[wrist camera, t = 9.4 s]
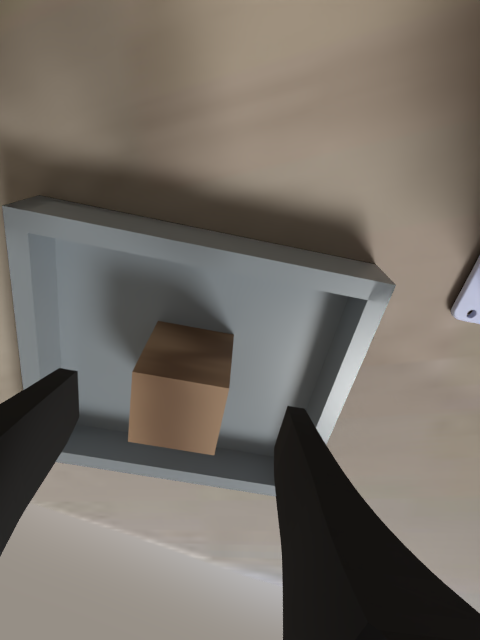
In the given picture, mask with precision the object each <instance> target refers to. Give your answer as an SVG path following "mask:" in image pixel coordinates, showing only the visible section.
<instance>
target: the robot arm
mask: <svg viewBox="0 0 480 640" xmlns="http://www.w3.org/2000/svg"><path fill="white" fill-rule="evenodd" d="M470 310H473V311H472V313H471V314H469V315H467V313H468V312H469V311H470ZM451 314H452V316H453V317H455V318H456V319H458V320H462V321H467V322H472V323H478V324H480V256H479V258H478V260H477V262H476V263H475V265H474V267H473V269H472V271H471V273H470V275H469V277H468V278H467V280H466V282H465V284H464V286H463V288H462V290H461V292H460V293H459V295H458V297H457V299H456V301H455V303H454V305H453V307H452V309H451ZM79 417H80V416H79V391H78V371H75V370H69V369H63V368H58V369H57V370H55V371H53V372H52V373H50V374H48V375H47V376H45V377H44V378H42V379H40V380H39V381H37V382H36V383H34V384H33V385H31V386H29V387H28V388H26V389H24V390H23V391H21V392H20V393H18V394H16V395H15V396H13V397H11V398H10V399H8V400H6V401H5V402H3V403H1V404H0V556H1V554H2V552H3V550H4V548H5V546H6V544H7V542H8V540H9V538H10V536H11V534H12V532H13V531H14V528H15V527H16V525H17V523H18V521H19V519H20V517H21V516H22V514H23V512H24V510H25V509H26V507H27V506H28V504H29V503H30V501H31V499H32V498H33V496H34V495H35V493H36V492H37V490H38V488H39V487H40V485H41V484H42V482H43V481H44V479H45V478H46V476H47V474H48V473H49V471H50V470H51V468H52V467H53V465H54V463H55V462H56V460H57V459H58V457H59V455H60V454H61V452H62V451H63V449H64V447H65V446H66V444H67V442H68V440H69V438H70V436H71V434H72V432H73V430H74V428H75V425H76V423H77V421H78V419H79ZM274 482H275V492H276V501H277V510H278V519H279V528H280V537H281V548H282V571H283V640H480V613H478V612H477V611H476V610H475V609H474V608H472V607H471V606H470V605H469V604H468V603H467V602H465V601H464V600H463V599H462V598H461V597H460V596H458V595H457V594H456V593H455V592H454V591H453V590H451V589H450V588H449V587H448V586H447V585H446V584H444V583H443V582H442V581H441V580H440V579H439V578H438V577H437V576H436V575H435V574H433V573H432V572H431V571H430V570H429V569H428V568H427V567H426V566H425V565H424V564H423V563H422V562H421V561H420V560H419V559H418V558H417V557H416V556H415V555H414V554H413V553H412V552H411V551H410V550H409V549H408V548H407V547H406V546H405V545H404V544H403V543H402V542H401V541H400V540H399V539H398V538H397V537H396V536H395V535H394V534H393V533H392V532H391V531H390V529H389V528H388V527H387V526H386V525H385V524H384V523H383V522H382V521H381V520H380V518H379V517H378V516H377V515H376V514H375V513H374V511H373V510H372V509H371V508H370V506H369V505H368V504H367V503H366V502H365V500H364V499H363V498H362V497H361V495H360V494H359V493H358V492H357V490H356V489H355V488H354V486H353V485H352V483H351V482H350V481H349V479H348V478H347V476H346V475H345V474H344V472H343V471H342V469H341V468H340V466H339V465H338V463H337V462H336V460H335V458H334V457H333V455H332V454H331V452H330V451H329V449H328V447H327V446H326V444H325V442H324V441H323V439H322V437H321V436H320V434H319V432H318V431H317V429H316V427H315V425H314V424H313V422H312V420H311V418H310V416H309V415H308V413H307V411H306V410H305V409H304V408H298V407H292V406H287V409H286V412H285V415H284V418H283V421H282V424H281V427H280V431H279V434H278V437H277V440H276V443H275V446H274Z"/></svg>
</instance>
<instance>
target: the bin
mask: <svg viewBox="0 0 480 640" xmlns="http://www.w3.org/2000/svg"><path fill="white" fill-rule="evenodd" d="M2 208H3V217H4V225H5V234H6V243H7V252H8V260H9V269H10V278H11V287H12V295H13V304H14V313H15V321H16V330H17V339H18V348H19V356H20V365H21V374H22V383H23V390H24V389H26V388H28V387H29V386H31V385H33V384H34V383H36V382H37V381H39V380H40V379H42V378H44V377H45V376H47V375H48V374H50V373H52V372H53V371H55V370H57V369H58V368H63V369H69V370H75V371H78V391H79V416H80V417H79V419H78V421H77V423H76V425H75V428H74V430H73V432H72V434H71V436H70V438H69V440H68V442H67V444H66V446H65V447H64V449H63V451H62V452H61V454H60V455H59V457H58V459H57V460H56V462H60V463H66V464H73V465H79V466H85V467H92V468H98V469H104V470H111V471H117V472H123V473H130V474H136V475H143V476H149V477H155V478H162V479H168V480H174V481H181V482H187V483H194V484H200V485H206V486H213V487H219V488H225V489H232V490H238V491H245V492H251V493H257V494H264V495H270V496H276V492H275V482H274V446H275V443H276V440H277V437H278V434H279V431H280V427H281V424H282V421H283V418H284V415H285V412H286V409H287V406H292V407H298V408H304V409H305V410H306V411H307V413H308V415H309V416H310V418H311V420H312V422H313V424H314V425H315V427H316V429H317V431H318V432H319V434H320V436H321V437H322V439H323V441H324V442H325V444H327V442H328V440H329V437H330V435H331V433H332V430H333V428H334V426H335V423H336V421H337V419H338V417H339V414H340V412H341V410H342V407H343V405H344V403H345V401H346V398H347V396H348V394H349V391H350V389H351V387H352V385H353V382H354V380H355V378H356V375H357V373H358V371H359V369H360V366H361V364H362V362H363V359H364V357H365V355H366V353H367V350H368V348H369V346H370V343H371V341H372V339H373V337H374V334H375V332H376V330H377V327H378V325H379V323H380V320H381V318H382V316H383V314H384V311H385V309H386V307H387V304H388V302H389V300H390V298H391V295H392V293H393V291H394V288H395V286H396V285H395V284H394V283H393V282H392V281H391V280H390V279H389V277H388V276H387V275H386V274H385V273H384V272H383V271H382V270H381V269H380V268H379V267H378V266H377V265H376V264H371V263H366V262H362V261H357V260H352V259H347V258H342V257H337V256H332V255H327V254H323V253H318V252H313V251H308V250H303V249H298V248H293V247H288V246H284V245H279V244H274V243H269V242H264V241H259V240H254V239H249V238H245V237H240V236H235V235H230V234H225V233H220V232H215V231H210V230H206V229H201V228H196V227H191V226H186V225H181V224H176V223H171V222H167V221H162V220H157V219H152V218H147V217H142V216H137V215H132V214H127V213H123V212H118V211H113V210H108V209H103V208H98V207H93V206H88V205H84V204H79V203H74V202H69V201H64V200H59V199H54V198H49V197H45V196H40V195H39V196H35V197H32V198H28V199H24V200H21V201H17V202H14V203H10V204H7V205H3V206H2ZM158 321H162V322H168V323H173V324H179V325H184V326H190V327H195V328H201V329H206V330H212V331H217V332H223V333H228V334H234V341H233V352H232V363H231V375H230V386H229V392H228V396H227V401H226V405H225V410H224V414H223V418H222V423H221V427H220V432H219V436H218V440H217V445H216V449H215V454H214V455H208V454H202V453H196V452H189V451H183V450H177V449H171V448H164V447H158V446H152V445H145V444H139V443H133V442H128V432H129V415H130V399H131V383H132V371H133V369H134V367H135V365H136V363H137V361H138V359H139V357H140V355H141V353H142V351H143V349H144V347H145V345H146V343H147V341H148V340H149V338H150V336H151V334H152V332H153V330H154V328H155V326H156V324H157V322H158Z"/></svg>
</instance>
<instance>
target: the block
mask: <svg viewBox="0 0 480 640" xmlns="http://www.w3.org/2000/svg"><path fill="white" fill-rule="evenodd" d="M233 341H234V334H228V333H223V332H217V331H212V330H206V329H201V328H195V327H190V326H184V325H179V324H173V323H168V322H162V321H158V322H157V324H156V326H155V328H154V330H153V332H152V334H151V336H150V338H149V340H148V341H147V343H146V345H145V347H144V349H143V351H142V353H141V355H140V357H139V359H138V361H137V363H136V365H135V367H134V369H133V371H132V383H131V399H130V415H129V432H128V442H133V443H139V444H145V445H152V446H158V447H164V448H171V449H177V450H183V451H189V452H196V453H202V454H208V455H214V454H215V449H216V445H217V440H218V436H219V432H220V427H221V423H222V418H223V414H224V410H225V405H226V401H227V396H228V392H229V386H230V375H231V363H232V352H233Z"/></svg>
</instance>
